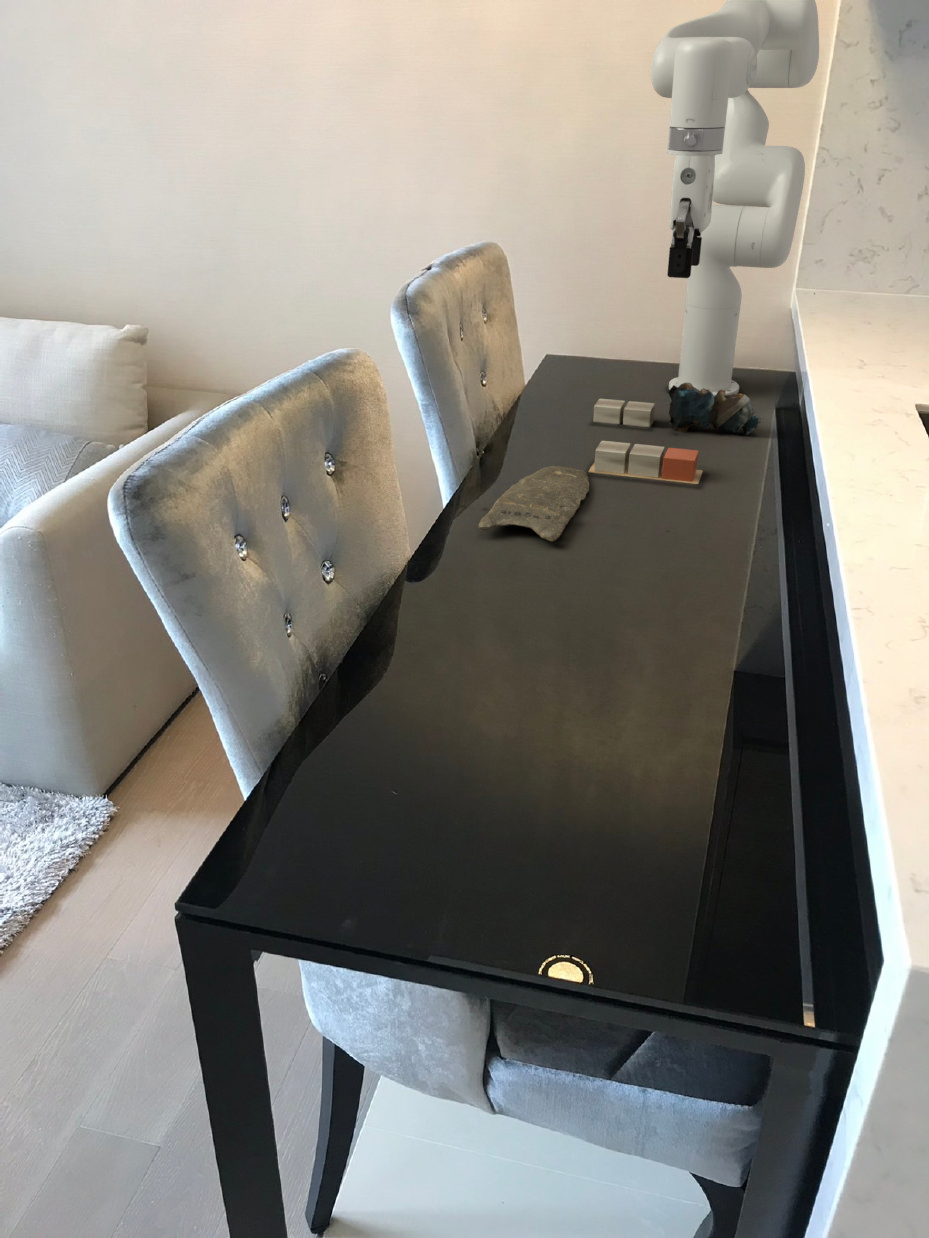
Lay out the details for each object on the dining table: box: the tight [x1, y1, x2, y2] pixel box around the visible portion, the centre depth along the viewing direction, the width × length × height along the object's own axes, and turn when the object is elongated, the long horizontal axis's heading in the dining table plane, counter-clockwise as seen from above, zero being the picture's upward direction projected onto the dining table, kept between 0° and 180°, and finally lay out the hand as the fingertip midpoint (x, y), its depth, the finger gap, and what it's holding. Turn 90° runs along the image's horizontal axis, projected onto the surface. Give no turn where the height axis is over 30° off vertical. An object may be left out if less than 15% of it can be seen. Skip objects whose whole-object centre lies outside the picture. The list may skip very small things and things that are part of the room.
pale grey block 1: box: [594, 440, 632, 474], centre depth 148 cm, size 4×4×3 cm
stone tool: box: [478, 465, 590, 542], centre depth 136 cm, size 11×3×25 cm
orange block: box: [662, 447, 700, 481], centre depth 145 cm, size 4×4×3 cm
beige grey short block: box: [592, 398, 626, 425], centre depth 168 cm, size 4×4×3 cm
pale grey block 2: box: [622, 400, 656, 428], centre depth 166 cm, size 4×4×3 cm
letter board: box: [588, 461, 704, 485], centre depth 147 cm, size 6×16×1 cm, turn 71°
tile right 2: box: [628, 443, 666, 478], centre depth 146 cm, size 4×4×3 cm
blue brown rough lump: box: [668, 383, 762, 436], centre depth 161 cm, size 9×8×15 cm
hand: (683, 271), depth 146 cm, fingers open, 9 cm apart
